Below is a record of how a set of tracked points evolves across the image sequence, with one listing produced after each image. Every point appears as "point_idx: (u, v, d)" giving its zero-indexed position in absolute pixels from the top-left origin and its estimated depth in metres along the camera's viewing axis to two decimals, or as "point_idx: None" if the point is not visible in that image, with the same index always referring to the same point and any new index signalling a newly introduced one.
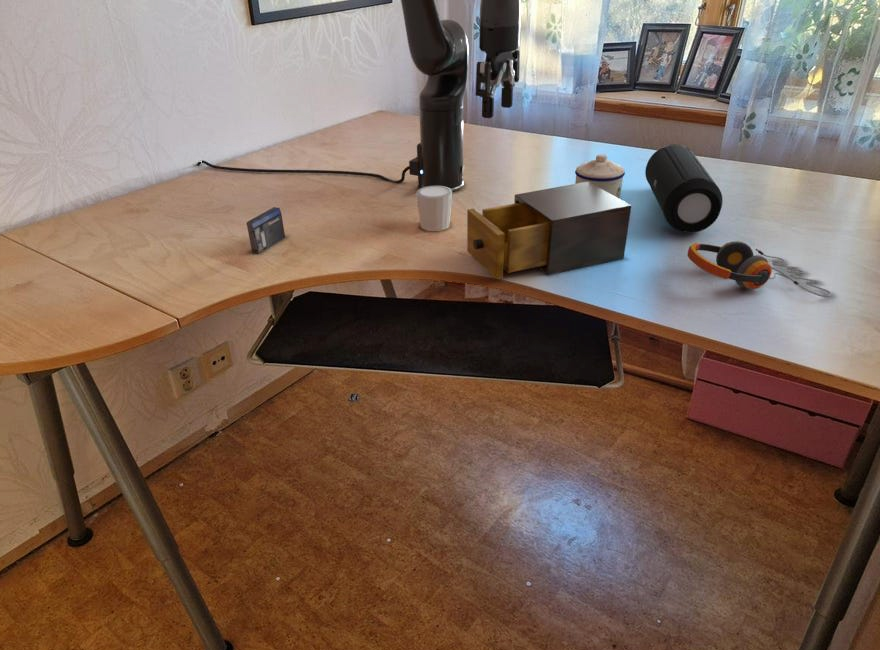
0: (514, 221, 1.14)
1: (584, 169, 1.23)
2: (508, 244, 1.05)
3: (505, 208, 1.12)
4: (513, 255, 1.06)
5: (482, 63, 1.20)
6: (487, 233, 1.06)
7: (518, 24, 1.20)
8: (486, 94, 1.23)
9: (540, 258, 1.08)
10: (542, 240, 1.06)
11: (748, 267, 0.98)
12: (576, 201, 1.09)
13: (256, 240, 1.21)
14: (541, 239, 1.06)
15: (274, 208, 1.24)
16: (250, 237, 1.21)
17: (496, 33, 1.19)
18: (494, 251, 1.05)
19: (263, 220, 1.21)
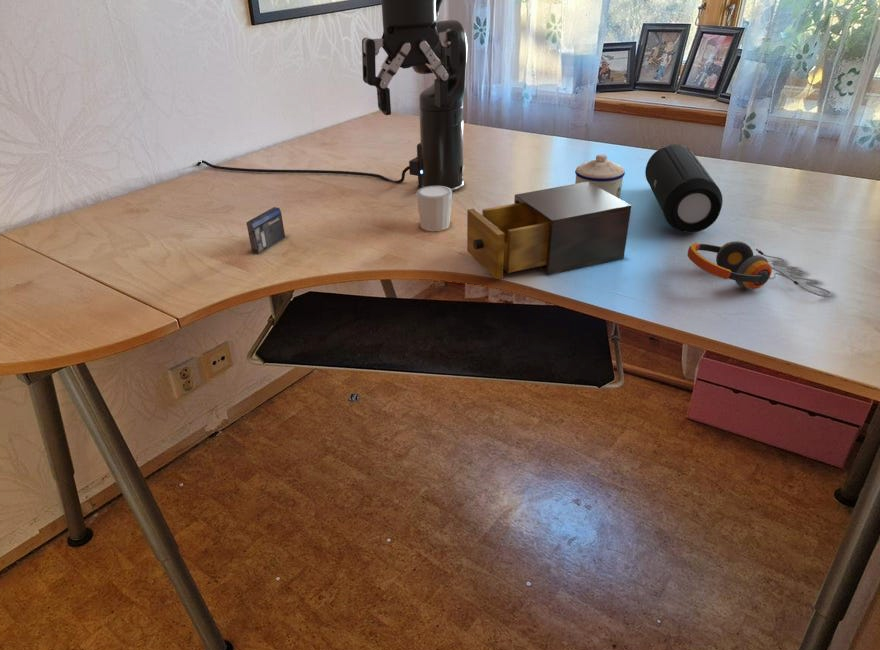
0: (514, 221, 1.14)
1: (584, 169, 1.23)
2: (508, 244, 1.05)
3: (505, 208, 1.12)
4: (513, 255, 1.06)
5: (365, 40, 0.91)
6: (487, 233, 1.06)
7: None
8: (368, 82, 0.93)
9: (540, 258, 1.08)
10: (542, 240, 1.06)
11: (748, 267, 0.98)
12: (576, 201, 1.09)
13: (256, 240, 1.21)
14: (541, 239, 1.06)
15: (274, 208, 1.24)
16: (250, 237, 1.21)
17: (386, 1, 0.88)
18: (494, 251, 1.05)
19: (263, 220, 1.21)
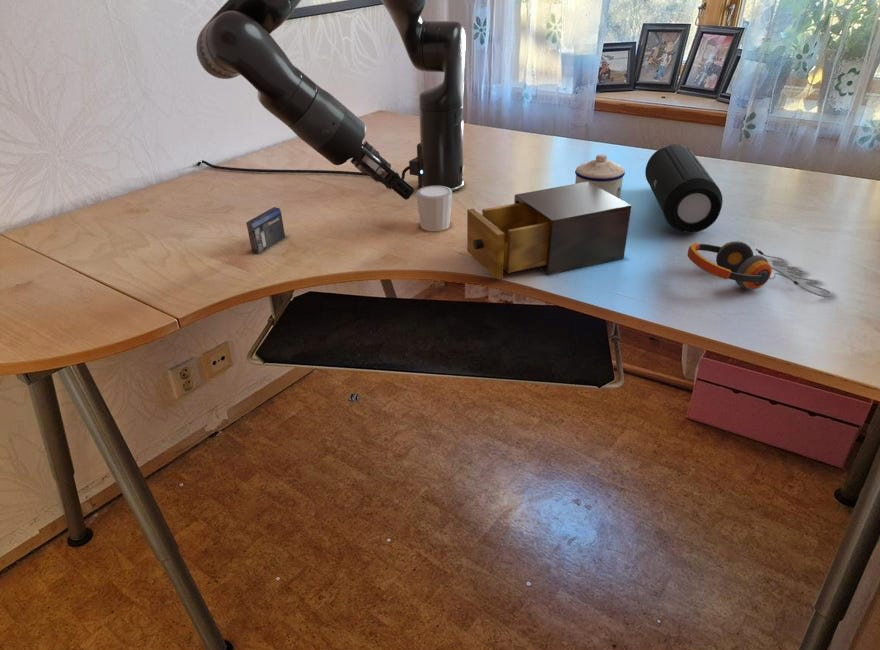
0: (514, 221, 1.14)
1: (584, 169, 1.23)
2: (508, 244, 1.05)
3: (505, 208, 1.12)
4: (513, 255, 1.06)
5: None
6: (487, 233, 1.06)
7: (313, 148, 0.96)
8: None
9: (540, 258, 1.08)
10: (542, 240, 1.06)
11: (748, 267, 0.98)
12: (576, 201, 1.09)
13: (256, 240, 1.21)
14: (541, 239, 1.06)
15: (274, 208, 1.24)
16: (250, 237, 1.21)
17: None
18: (494, 251, 1.05)
19: (263, 220, 1.21)
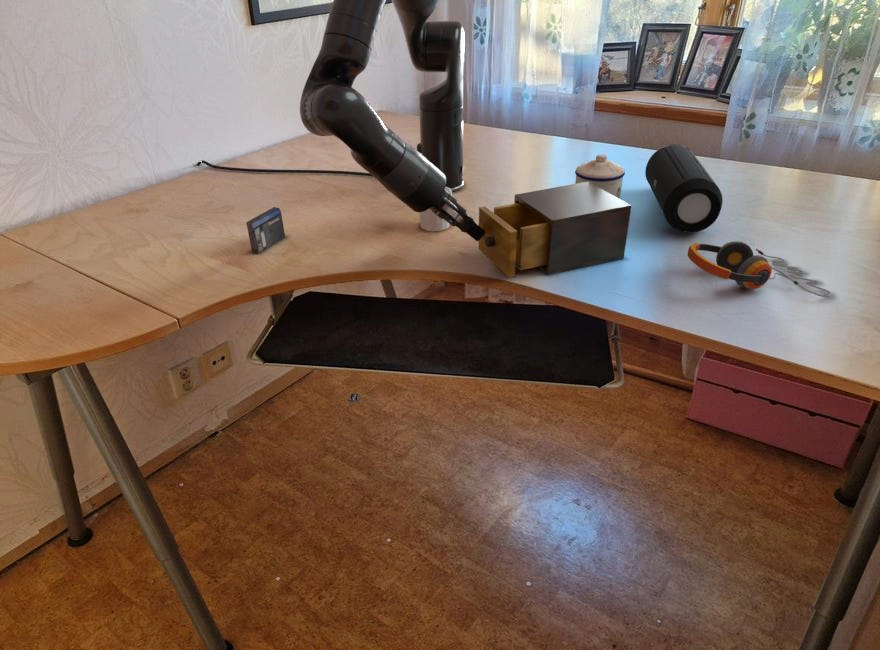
0: (525, 219, 1.15)
1: (584, 169, 1.23)
2: (520, 242, 1.06)
3: (516, 206, 1.13)
4: (525, 253, 1.07)
5: None
6: (500, 230, 1.06)
7: (397, 197, 1.04)
8: None
9: None
10: None
11: (748, 267, 0.98)
12: (576, 201, 1.09)
13: (256, 240, 1.21)
14: None
15: (274, 208, 1.24)
16: (250, 237, 1.21)
17: None
18: (506, 249, 1.05)
19: (263, 220, 1.21)
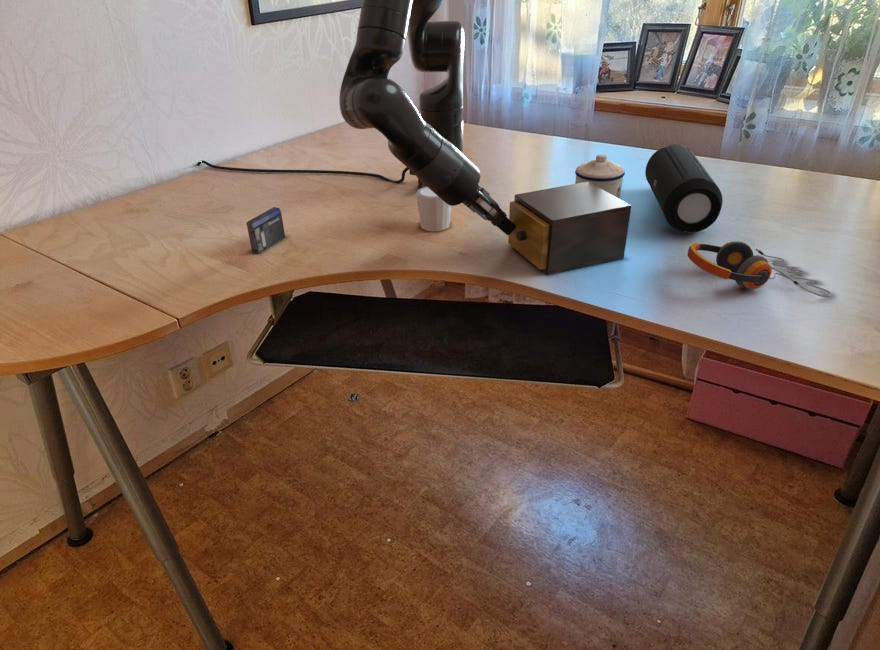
0: None
1: (584, 169, 1.23)
2: None
3: None
4: None
5: None
6: (532, 224, 1.07)
7: (431, 190, 1.06)
8: None
9: None
10: None
11: (748, 267, 0.98)
12: (576, 201, 1.09)
13: (256, 240, 1.21)
14: None
15: (274, 208, 1.24)
16: (250, 237, 1.21)
17: None
18: (539, 242, 1.07)
19: (263, 220, 1.21)
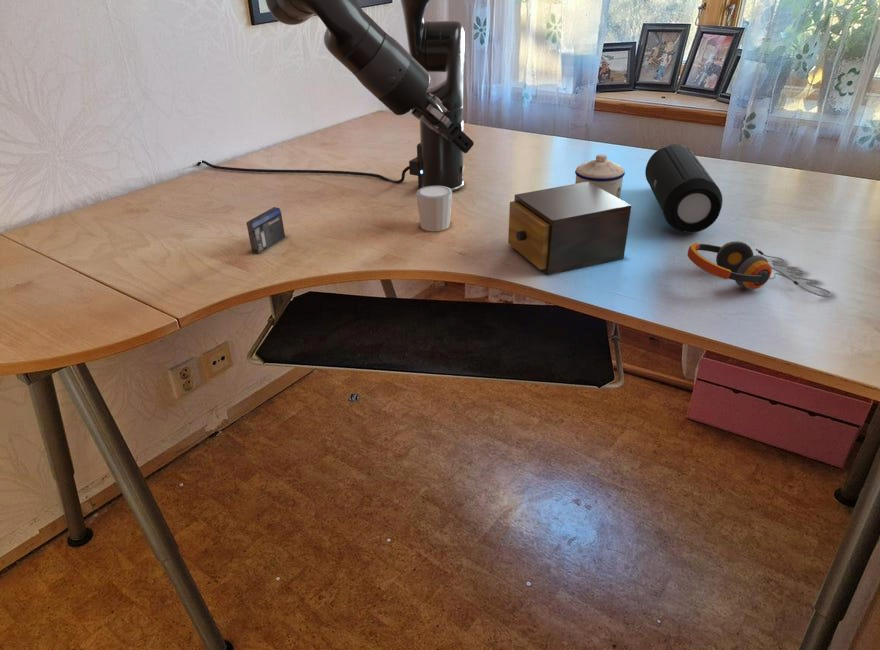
0: None
1: (584, 169, 1.23)
2: None
3: None
4: None
5: None
6: (532, 224, 1.07)
7: (376, 97, 0.95)
8: None
9: None
10: None
11: (748, 267, 0.98)
12: (576, 201, 1.09)
13: (256, 240, 1.21)
14: None
15: (274, 208, 1.24)
16: (250, 237, 1.21)
17: None
18: (539, 242, 1.07)
19: (263, 220, 1.21)
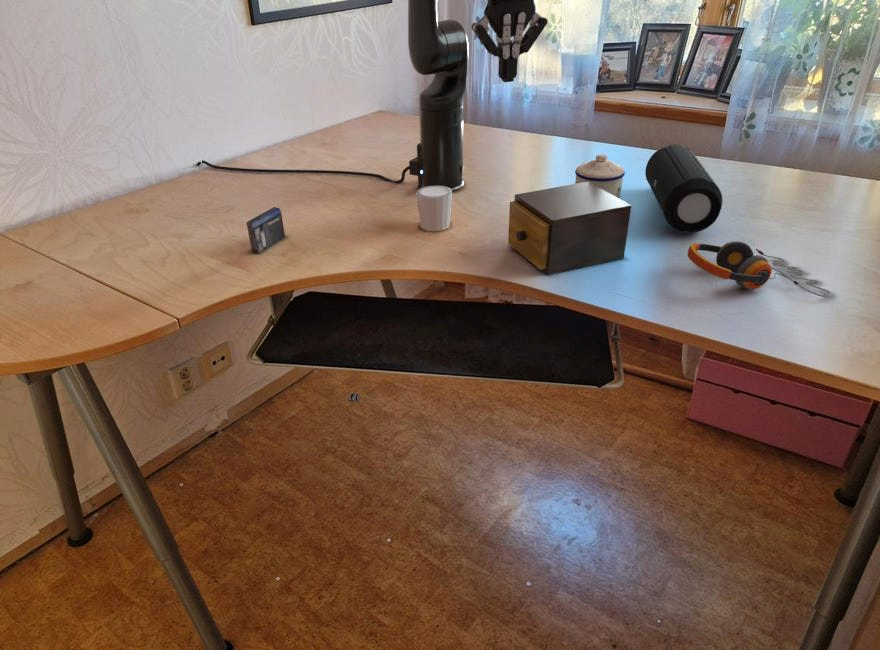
0: None
1: (584, 169, 1.23)
2: None
3: None
4: None
5: (473, 27, 1.06)
6: (532, 224, 1.07)
7: None
8: (494, 55, 1.08)
9: None
10: None
11: (748, 267, 0.98)
12: (576, 201, 1.09)
13: (256, 240, 1.21)
14: None
15: (274, 208, 1.24)
16: (250, 237, 1.21)
17: None
18: (539, 242, 1.07)
19: (263, 220, 1.21)
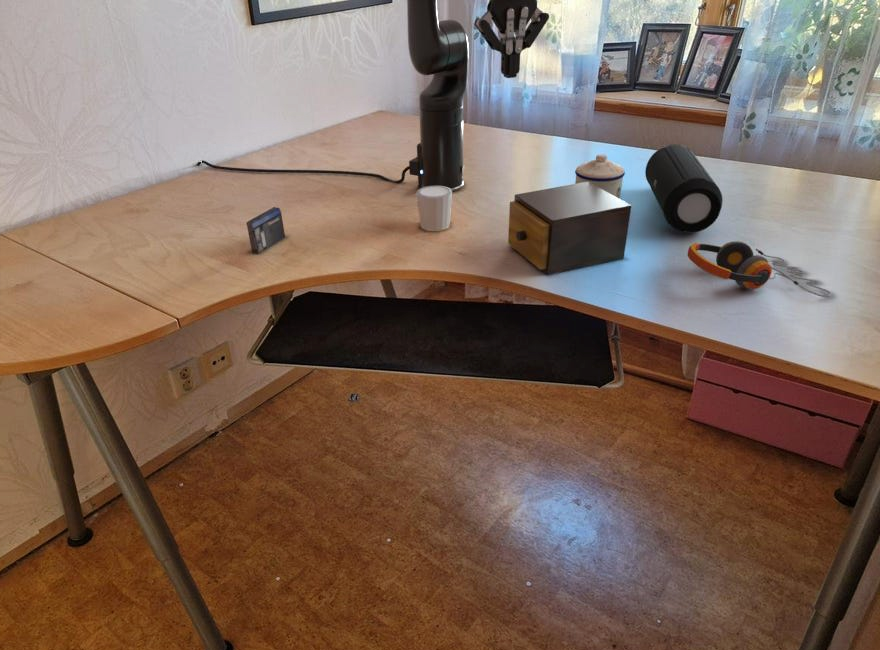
0: None
1: (584, 169, 1.23)
2: None
3: None
4: None
5: (477, 23, 1.05)
6: (532, 224, 1.07)
7: None
8: (497, 50, 1.08)
9: None
10: None
11: (748, 267, 0.98)
12: (576, 201, 1.09)
13: (256, 240, 1.21)
14: None
15: (274, 208, 1.24)
16: (250, 237, 1.21)
17: None
18: (539, 242, 1.07)
19: (263, 220, 1.21)
